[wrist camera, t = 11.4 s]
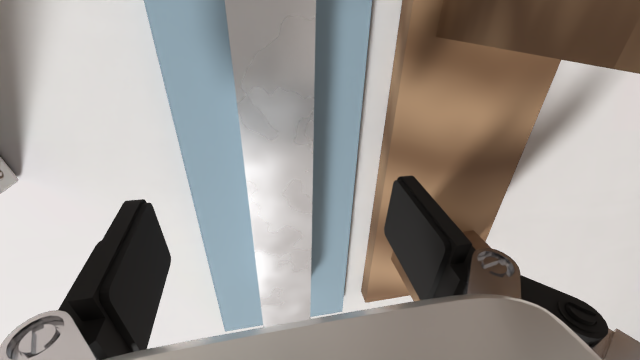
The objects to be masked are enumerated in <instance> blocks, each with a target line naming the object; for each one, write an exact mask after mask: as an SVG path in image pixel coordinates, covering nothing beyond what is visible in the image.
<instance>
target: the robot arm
mask: <svg viewBox="0 0 640 360" xmlns="http://www.w3.org/2000/svg"><path fill="white" fill-rule="evenodd" d="M384 233H385V236H386V238H387V240H388V242H389V244H390V246H391V247H392V249H393V251H394V253H395V255H396V257H397V258H398V260H399V262H400V264H401V266H402V268H403V269H404V271H405V273H406V275H407V277H408V279H409V280H410V282H411V284H412V286H413V288H414V290H415V291H416V293H417V295H418V297H419V299H420V300H421V301H414V302H408V303H402V304H396V305H390V306H384V307H378V308H372V309H367V310H361V311H355V312H349V313H343V314H337V315H332V316H326V317H320V318H314V319H309V320H303V321H297V322H292V323H286V324H280V325H275V326H269V327H263V328H258V329H252V330H247V331H241V332H236V333H230V334H225V335H219V336H213V337H208V338H202V339H197V340H191V341H186V342H181V343H176V344H171V345H166V346H161V347H156V348H150V349H147V346H148V342H149V338H150V335H151V331H152V328H153V324H154V321H155V317H156V313H157V310H158V306H159V303H160V299H161V296H162V292H163V288H164V285H165V281H166V278H167V274H168V271H169V267H170V263H171V256H170V253H169V250H168V247H167V244H166V242H165V239H164V236H163V233H162V231H161V228H160V225H159V222H158V220H157V217H156V214H155V211H154V209H153V206H152V204H151V203H146V201H145V200H143V199H142V200H131V201H125V202H124V203H123V205H122V207H121V208H120V210H119V212H118V214H117V215H116V217H115V219H114V220H113V222H112V224H111V226H110V227H109V229H108V231H107V233H106V234H105V236H104V238H103V240H102V241H100V242H99V243H98V244H97V245H96V246H95V248H94V250H93V252H92V253H91V255H90V257H89V258H88V260H87V262H86V263H85V265H84V267H83V269H82V270H81V272H80V274H79V275H78V277H77V279H76V281H75V282H74V284H73V286H72V287H71V289H70V291H69V292H68V294H67V296H66V298H65V299H64V301H63V303H62V304H61V306H60V308H59V310H56V311H48V312H45V313H41V314H39V315H36V316H34V317H32V318H30V319H28V320H27V321H25V322H24V323H22V324H21V325H19V326H18V327H17V328H16V329H14V330H13V331H12V332H11V333H10V334H9V335H8V336H7V337H6V339H5V340H4V341H3V343H2V344H1V346H0V360H640V342H638V341H637V340H635V339H633V338H632V337H630V336H628V335H627V334H625V333H623V332H622V331H620V330H618V329H617V328H616V329H615V330H614V331H612V330H610V329H608V326H607V323H606V321H605V320H604V319H603V317H602V316H601V315H600V314H599V313H598V312H597V311H596V310H595V309H594V308H593V307H591V306H590V305H588V304H587V303H585V302H583V301H581V300H579V299H577V298H575V297H572V296H570V295H568V294H565V293H563V292H560V291H558V290H555V289H553V288H551V287H548V286H546V285H543V284H541V283H538V282H536V281H534V280H531V279H529V278H526V277H524V276H521V275H520V270H519V267H518V266H517V264H516V263H515V261H513V260H512V259H511V258H510V257H509V256H507V255H506V254H504V253H502V252H500V251H498V250H495V249H491V248H480V249H477V250H476V249H475V248H474V247H473V246H472V243H471V242H470V240H469V239H468V238H467V237H466V236H465V235H464V233H463V232H462V231H461V230H460V229H459V228H458V227H457V225H456V224H455V223H454V222H453V221H452V220H451V218H450V217H449V216H448V215H447V214H446V213H445V212H444V210H443V209H442V208H441V207H440V206H439V205H438V203H437V202H436V201H435V200H434V199H433V198H432V197H431V195H430V194H429V193H428V192H427V191H426V190H425V188H424V187H423V186H422V185H421V184H420V183H419V182H418V180H417V179H416V178H415V177H414V176H412V175H411V176H400V177H398V179H397V180H395V181H394V183H393V187H392V192H391V197H390V202H389V206H388V211H387V216H386V221H385V226H384Z"/></svg>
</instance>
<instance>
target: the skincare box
mask: <svg viewBox="0 0 640 360" xmlns="http://www.w3.org/2000/svg"><path fill="white" fill-rule="evenodd" d="M17 181H18V179H17V177H16V176H15V174H14V173H13V172H12V170H11V169H10V168H9V167H8V165H7V164H6V163H5V162H4V161H3V159H2V158H1V157H0V194H1V193H2V192H4V191H5V190H7V189H8V188H9V187H11V186H12V185H13V184H15V183H16V182H17Z"/></svg>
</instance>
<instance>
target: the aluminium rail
mask: <svg viewBox="0 0 640 360" xmlns="http://www.w3.org/2000/svg"><path fill="white" fill-rule="evenodd" d="M225 7H226V16H227V24H228V33H229V41H230V50H231V58H232V66H233V75H234V83H235V92H236V100H237V109H238V117H239V125H240V134H241V142H242V151H243V159H244V167H245V176H246V184H247V193H248V201H249V210H250V218H251V226H252V235H253V243H254V252H255V260H256V268H257V277H258V285H259V294H260V302H261V311H262V319H263V327H269V326H275V325H280V324H286V323H292V322H297V321H303V320H309V319H310V307H311V251H312V194H313V138H314V82H315V25H316V0H225Z"/></svg>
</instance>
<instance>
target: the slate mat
mask: <svg viewBox="0 0 640 360" xmlns="http://www.w3.org/2000/svg"><path fill="white" fill-rule="evenodd" d="M144 3H145V7H146V11H147V15H148V19H149V24H150V28H151V32H152V36H153V40H154V44H155V48H156V52H157V56H158V60H159V64H160V68H161V72H162V76H163V81H164V85H165V89H166V93H167V97H168V101H169V105H170V109H171V113H172V117H173V121H174V125H175V129H176V133H177V138H178V142H179V146H180V150H181V154H182V158H183V162H184V166H185V170H186V174H187V178H188V182H189V186H190V190H191V195H192V199H193V203H194V207H195V211H196V215H197V219H198V223H199V227H200V231H201V235H202V239H203V243H204V247H205V251H206V256H207V260H208V264H209V268H210V272H211V276H212V280H213V284H214V288H215V292H216V296H217V300H218V304H219V308H220V313H221V317H222V321H223V325H224V329H225V331H231V330H236V329H242V328H248V327H254V326H260V325H263V319H262V311H261V302H260V294H259V285H258V277H257V268H256V260H255V252H254V243H253V235H252V226H251V218H250V210H249V201H248V193H247V184H246V176H245V167H244V159H243V151H242V142H241V134H240V125H239V117H238V109H237V100H236V92H235V83H234V75H233V66H232V58H231V50H230V41H229V33H228V24H227V16H226V7H225V0H144ZM371 8H372V0H316V25H315V82H314V138H313V194H312V251H311V307H310V317H313V316H319V315H325V314H331V313H336V312H342V308H343V298H344V287H345V277H346V266H347V256H348V246H349V235H350V225H351V215H352V204H353V194H354V184H355V173H356V163H357V153H358V142H359V132H360V122H361V111H362V101H363V91H364V80H365V70H366V60H367V49H368V39H369V29H370V18H371Z"/></svg>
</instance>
